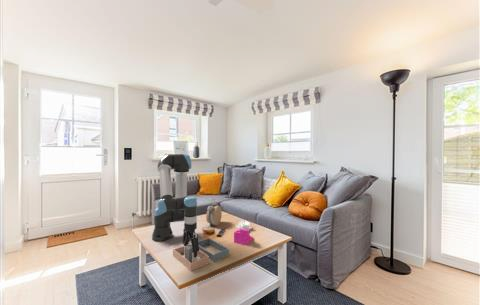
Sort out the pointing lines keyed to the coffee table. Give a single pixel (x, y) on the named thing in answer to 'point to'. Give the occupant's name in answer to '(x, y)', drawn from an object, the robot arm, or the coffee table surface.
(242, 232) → the bracket
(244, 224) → the lotus flower
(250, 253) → the coffee table surface
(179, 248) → the trough
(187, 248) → the stone block
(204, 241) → the trough
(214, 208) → the beige tall rounded piece
